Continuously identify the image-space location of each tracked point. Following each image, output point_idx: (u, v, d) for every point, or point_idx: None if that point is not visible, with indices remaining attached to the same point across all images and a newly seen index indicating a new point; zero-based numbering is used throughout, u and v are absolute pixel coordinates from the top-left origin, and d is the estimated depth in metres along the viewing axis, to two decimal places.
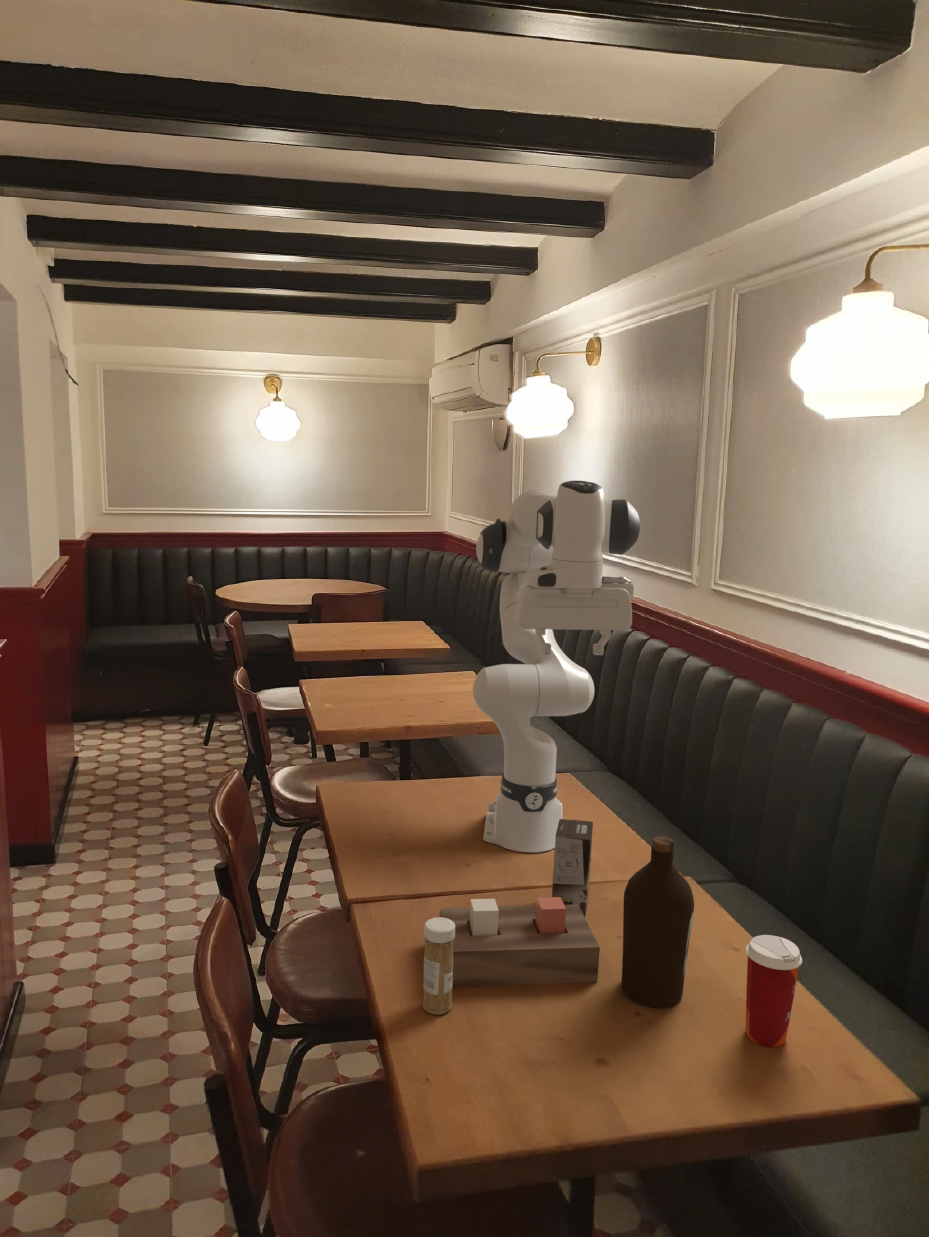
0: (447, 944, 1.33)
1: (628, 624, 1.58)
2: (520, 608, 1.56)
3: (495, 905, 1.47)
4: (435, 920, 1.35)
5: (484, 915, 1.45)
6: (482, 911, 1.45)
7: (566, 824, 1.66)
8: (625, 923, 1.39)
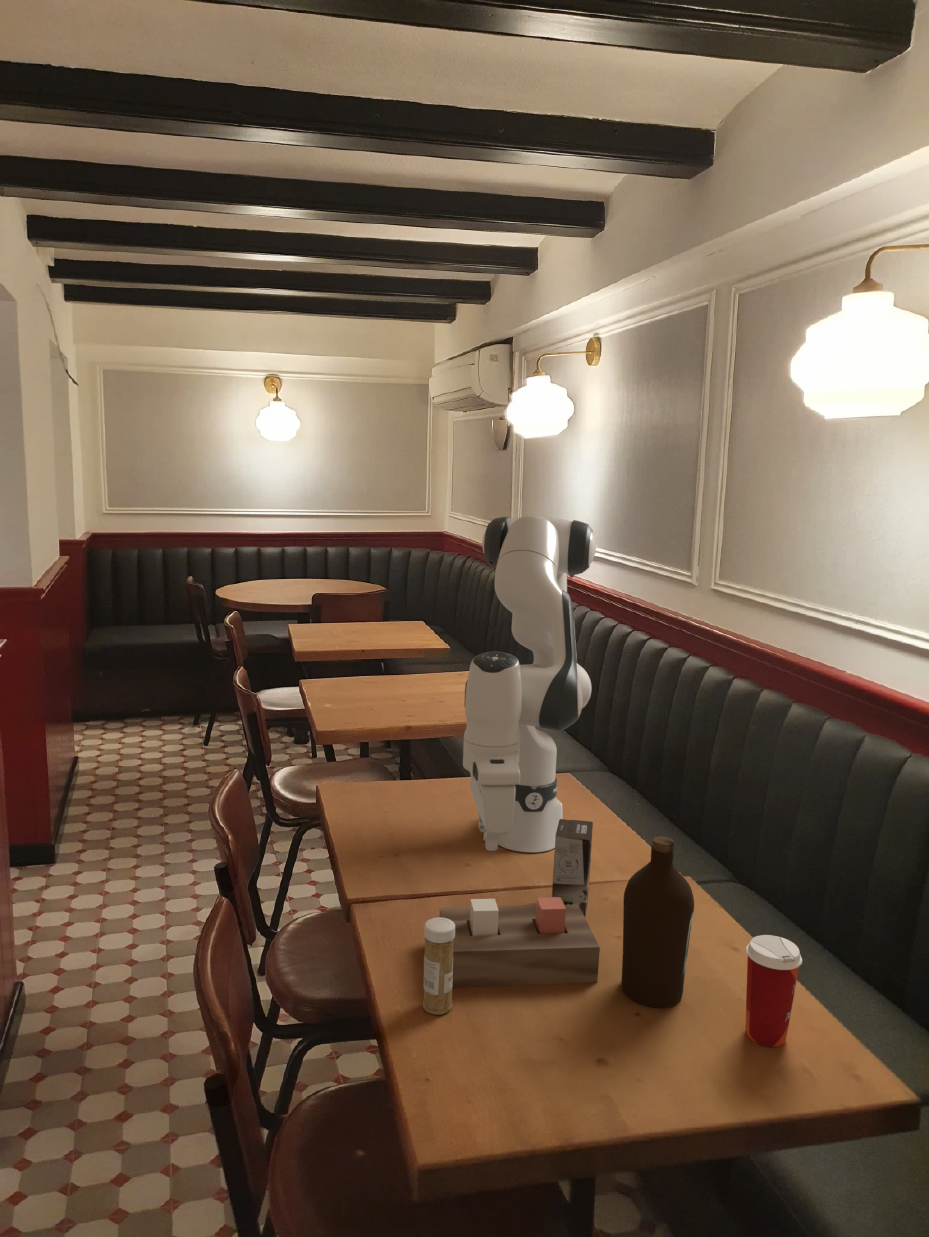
0: (447, 944, 1.33)
1: None
2: (509, 813, 1.35)
3: (495, 905, 1.47)
4: (435, 920, 1.35)
5: (484, 915, 1.45)
6: (482, 911, 1.45)
7: (566, 824, 1.66)
8: (625, 923, 1.39)
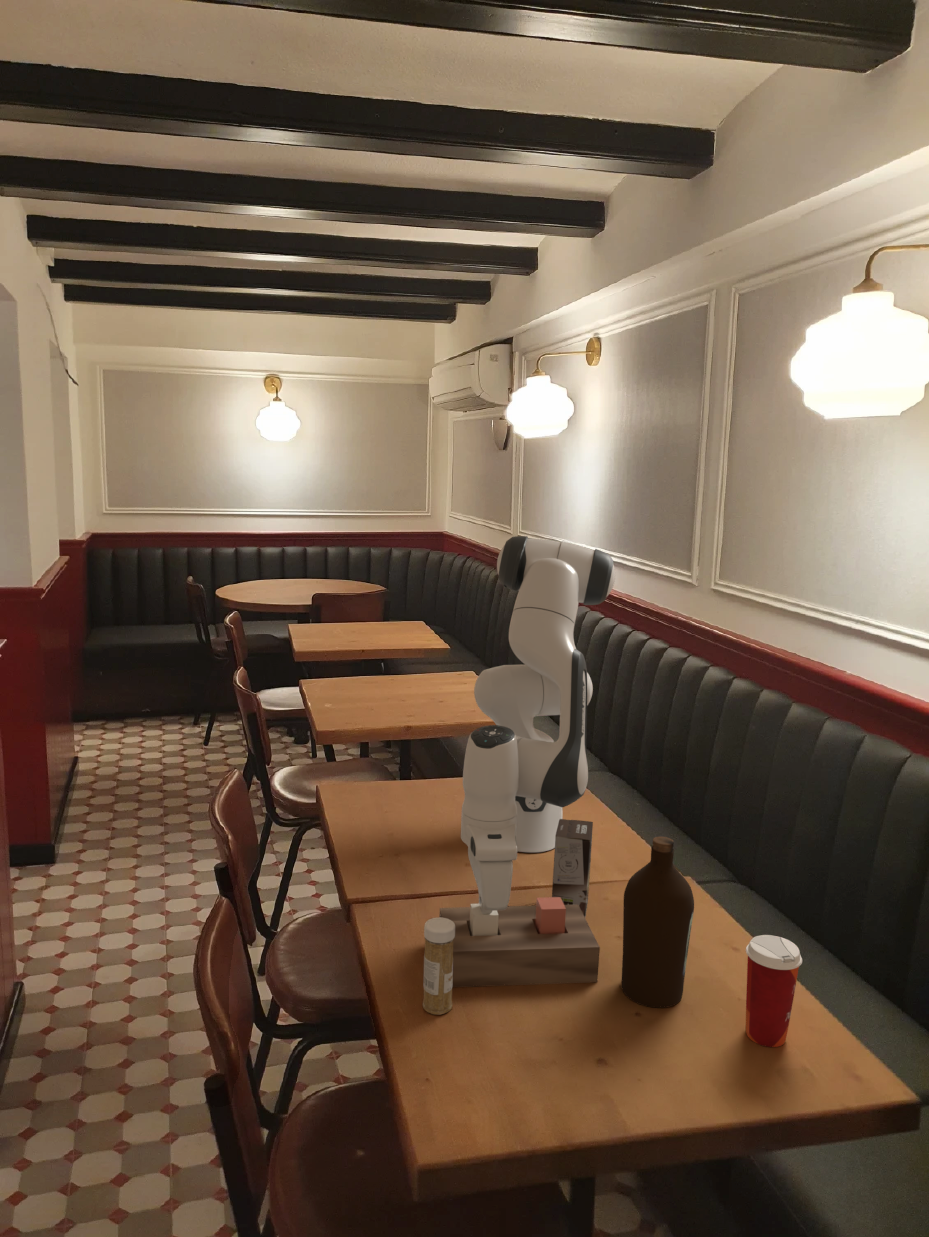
0: (447, 944, 1.33)
1: None
2: (506, 889, 1.36)
3: (495, 910, 1.47)
4: (435, 920, 1.35)
5: (484, 920, 1.46)
6: (482, 916, 1.45)
7: (566, 824, 1.66)
8: (625, 923, 1.39)
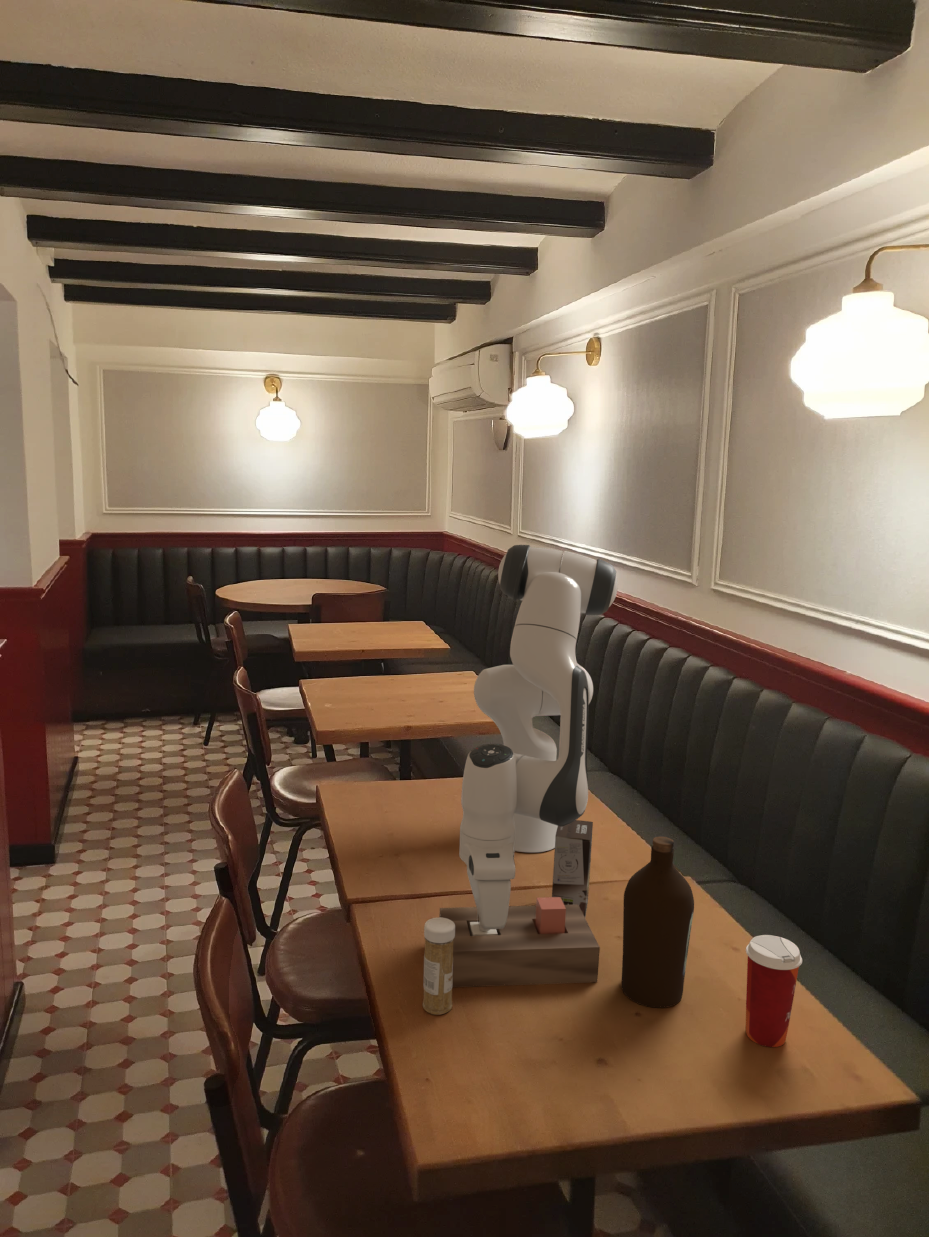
0: (447, 944, 1.33)
1: None
2: (504, 908, 1.37)
3: None
4: (435, 920, 1.35)
5: None
6: (481, 934, 1.46)
7: None
8: (625, 923, 1.39)
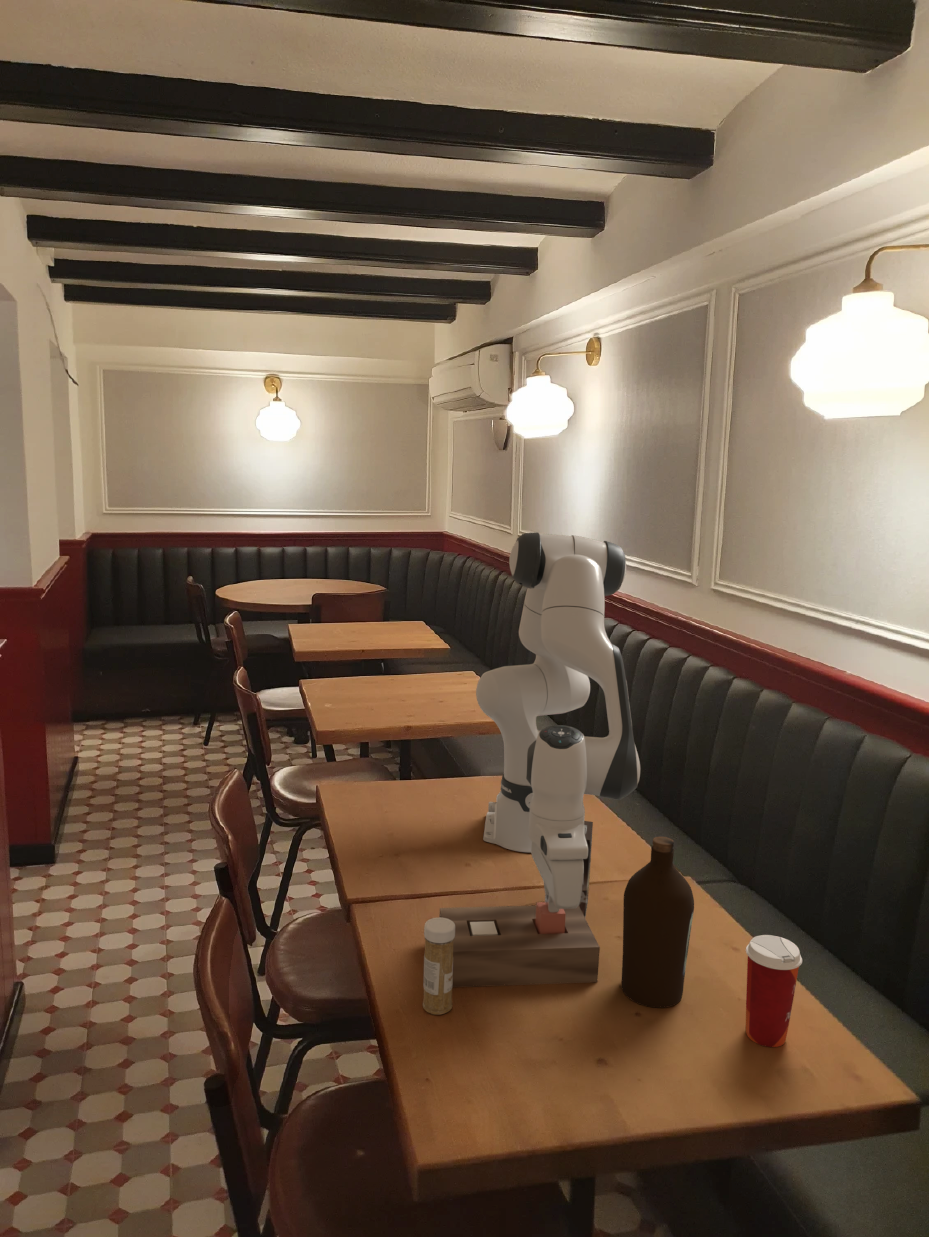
0: (447, 944, 1.33)
1: None
2: (577, 888, 1.38)
3: (494, 928, 1.48)
4: (435, 920, 1.35)
5: None
6: (481, 934, 1.46)
7: None
8: (625, 923, 1.39)
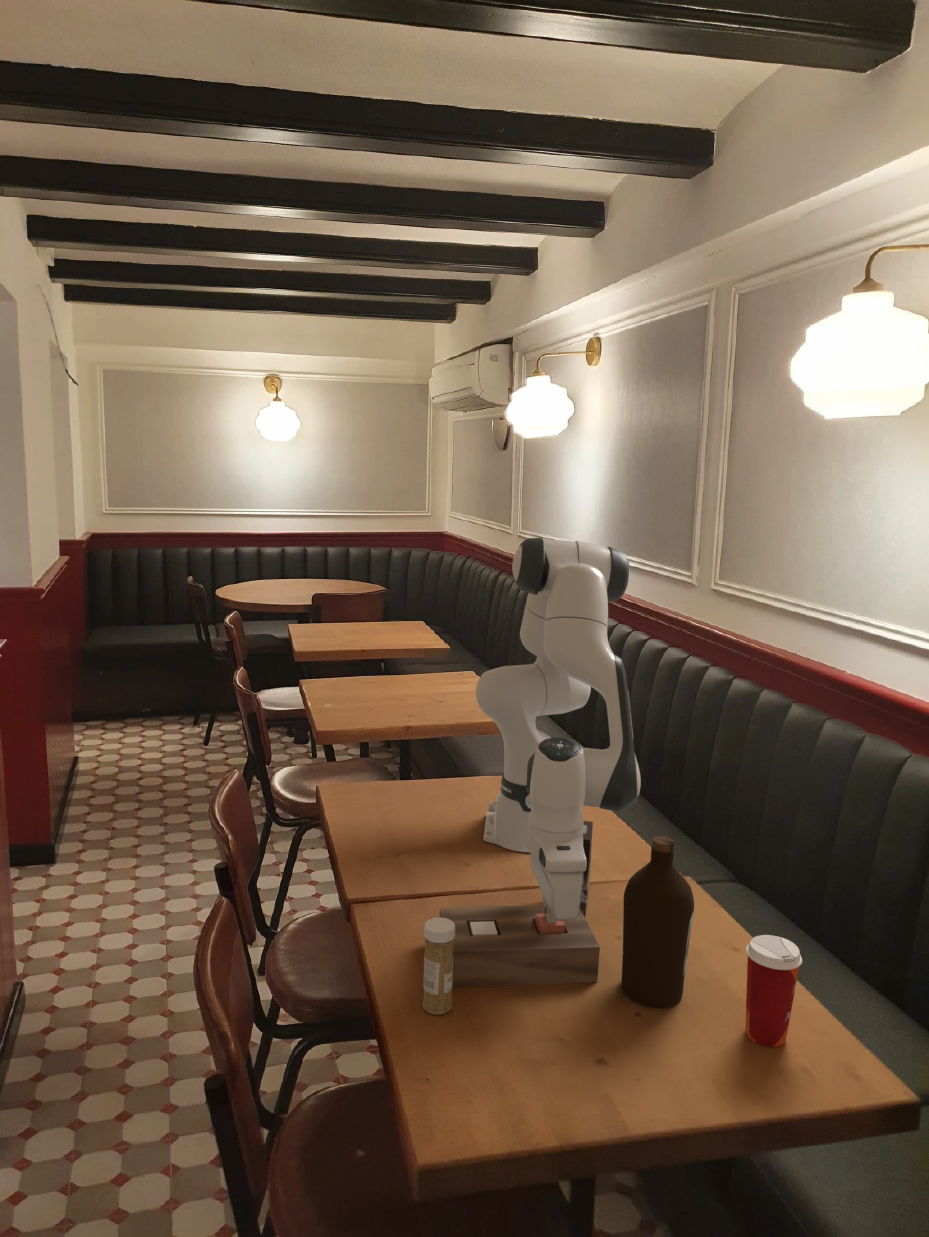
0: (447, 944, 1.33)
1: None
2: (576, 900, 1.38)
3: (494, 928, 1.48)
4: (435, 920, 1.35)
5: None
6: (481, 934, 1.46)
7: None
8: (625, 923, 1.39)
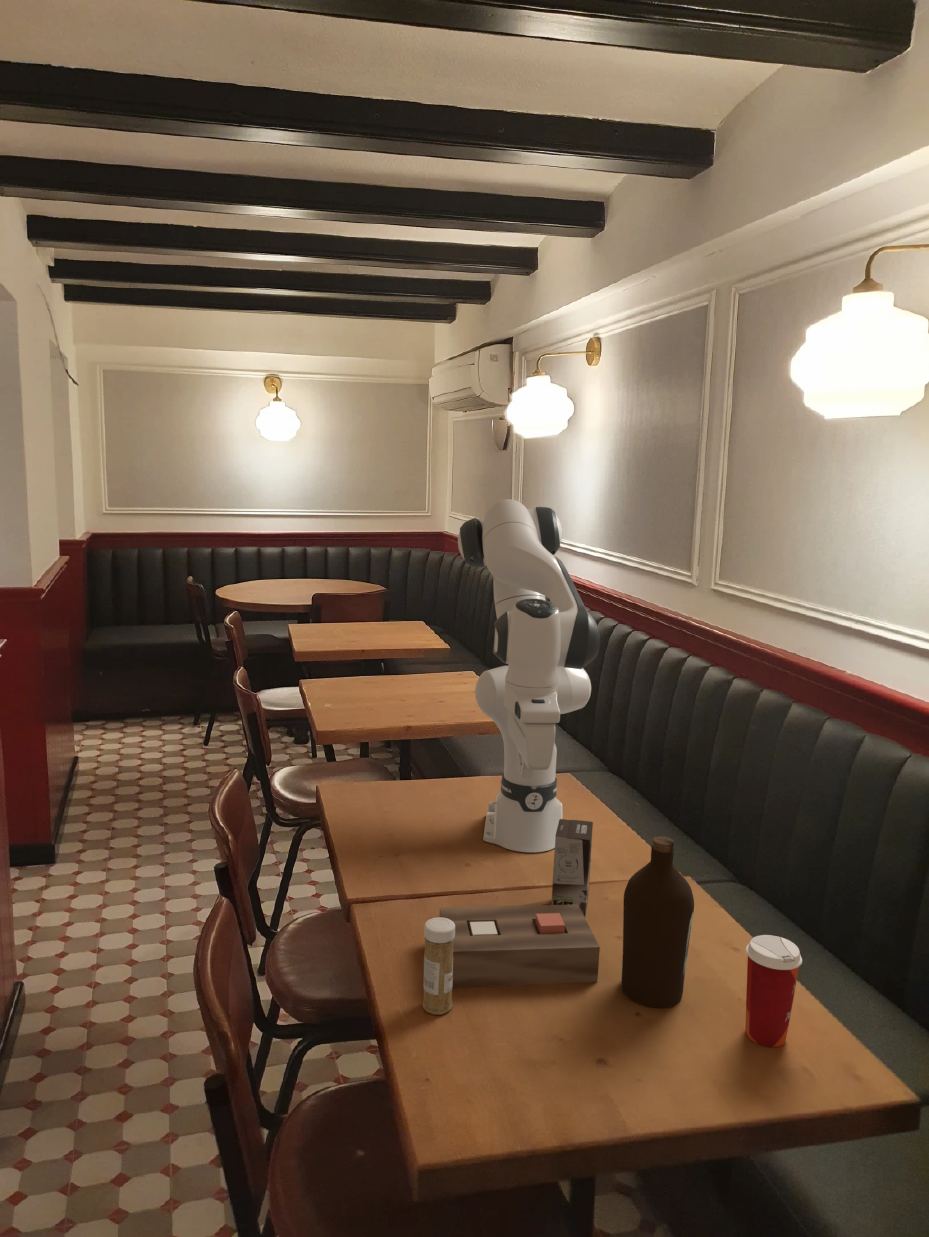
0: (447, 944, 1.33)
1: None
2: (549, 749, 1.44)
3: (494, 928, 1.48)
4: (435, 920, 1.35)
5: None
6: (481, 934, 1.46)
7: (566, 824, 1.66)
8: (625, 923, 1.39)
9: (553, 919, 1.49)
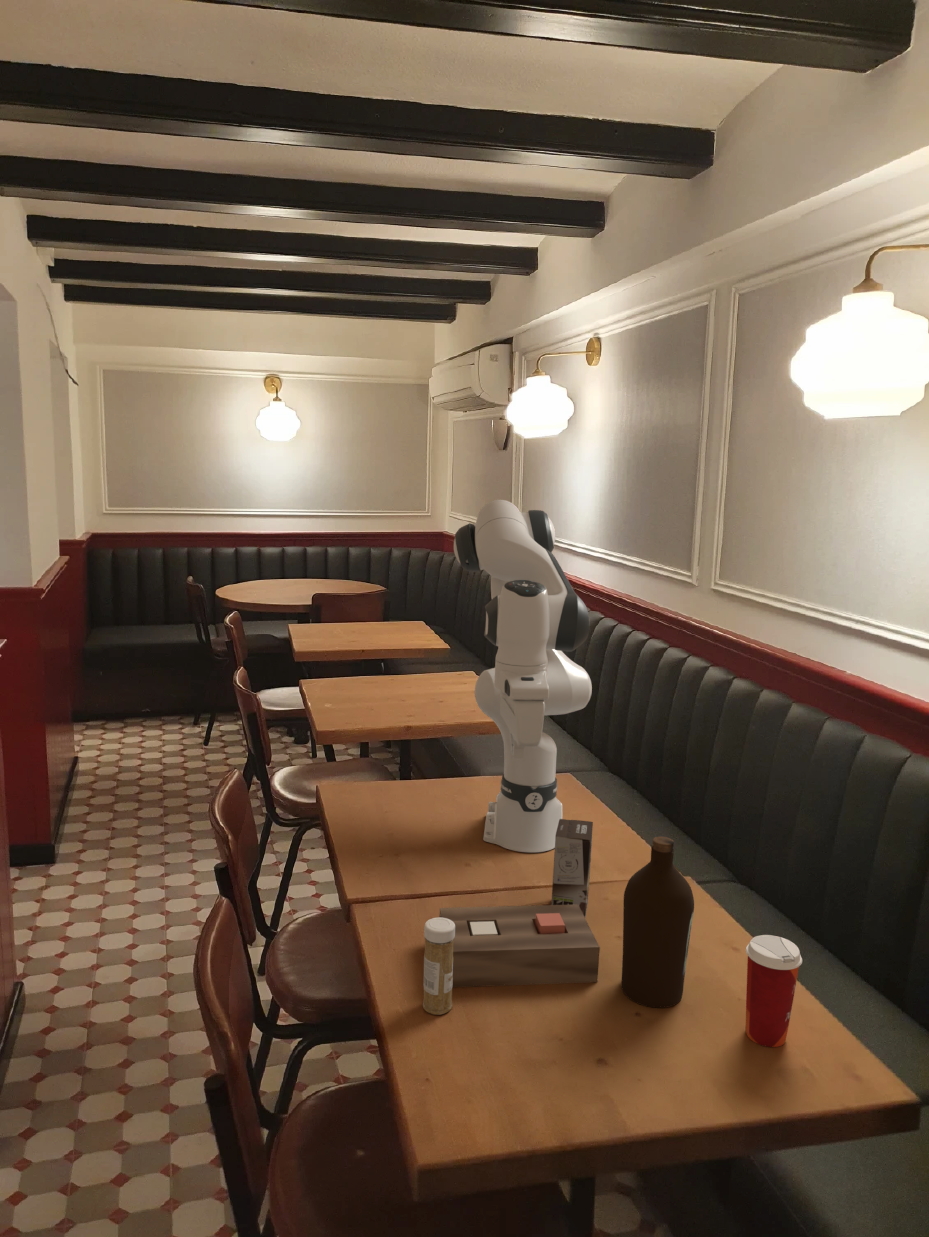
0: (447, 944, 1.33)
1: None
2: (538, 726, 1.45)
3: (494, 928, 1.48)
4: (435, 920, 1.35)
5: None
6: (481, 934, 1.46)
7: (566, 824, 1.66)
8: (625, 923, 1.39)
9: (553, 919, 1.49)
